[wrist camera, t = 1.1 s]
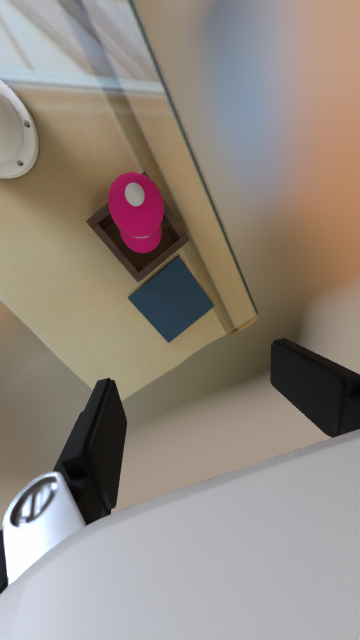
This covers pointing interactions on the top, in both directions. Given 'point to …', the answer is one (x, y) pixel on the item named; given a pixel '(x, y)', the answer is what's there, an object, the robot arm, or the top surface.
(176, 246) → the stand
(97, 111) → the top surface
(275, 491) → the robot arm
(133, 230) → the pepper mill
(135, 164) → the top surface
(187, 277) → the mat
